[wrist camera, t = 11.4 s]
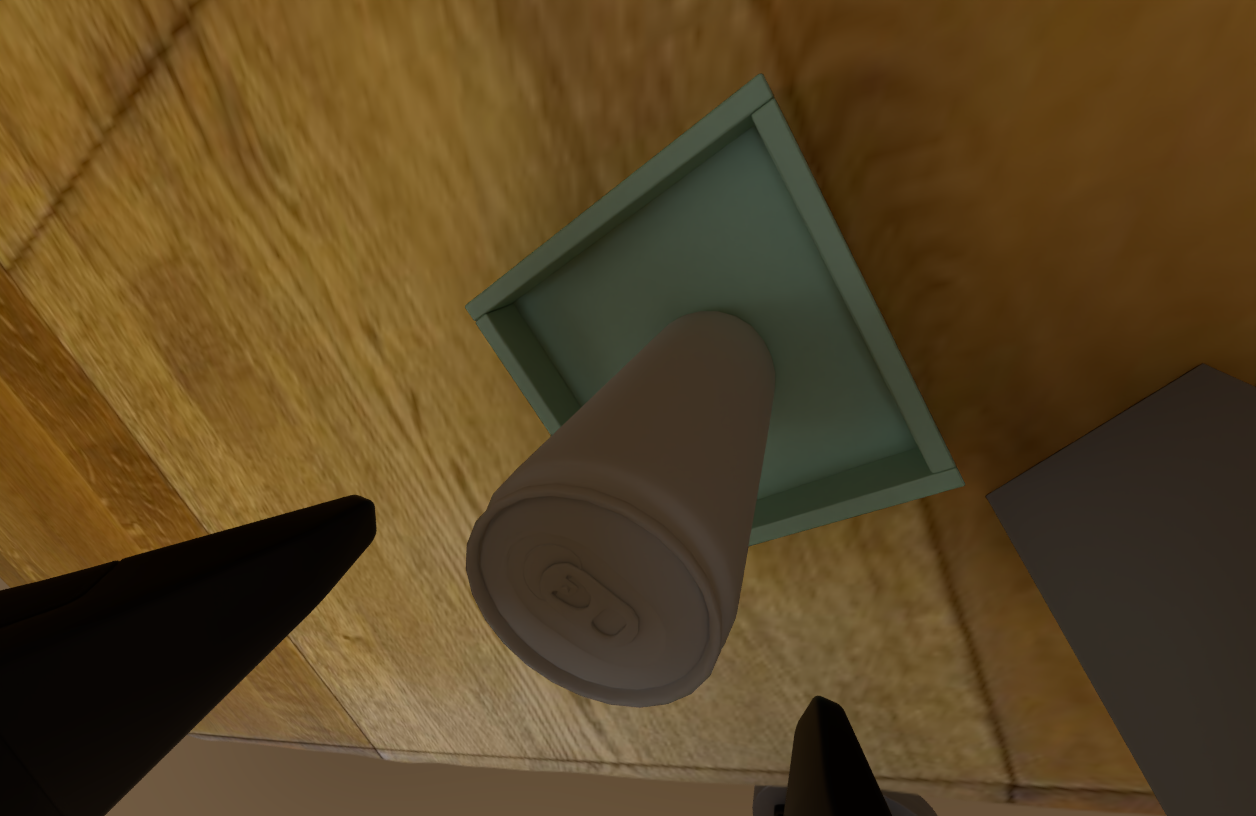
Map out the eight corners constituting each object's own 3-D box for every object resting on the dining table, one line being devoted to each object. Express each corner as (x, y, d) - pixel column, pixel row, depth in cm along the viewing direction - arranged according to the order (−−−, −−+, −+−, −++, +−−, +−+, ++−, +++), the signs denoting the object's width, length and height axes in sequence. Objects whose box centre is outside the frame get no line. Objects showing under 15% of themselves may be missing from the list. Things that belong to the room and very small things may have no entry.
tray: (946, 447, 17) (966, 486, 15) (660, 538, 23) (644, 575, 21) (769, 88, 15) (761, 71, 12) (500, 293, 21) (463, 306, 18)
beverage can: (699, 279, 17) (528, 419, 7) (807, 362, 17) (802, 635, 7) (628, 376, 20) (423, 589, 9) (722, 450, 19) (622, 747, 9)
